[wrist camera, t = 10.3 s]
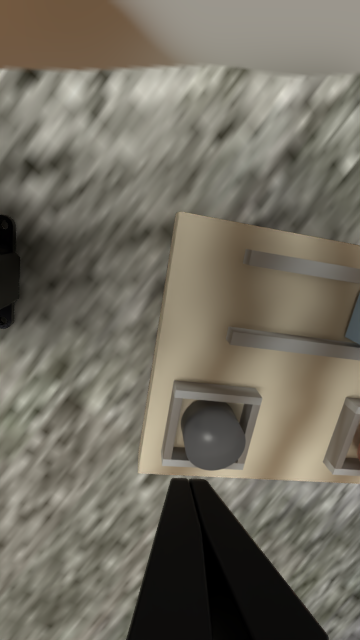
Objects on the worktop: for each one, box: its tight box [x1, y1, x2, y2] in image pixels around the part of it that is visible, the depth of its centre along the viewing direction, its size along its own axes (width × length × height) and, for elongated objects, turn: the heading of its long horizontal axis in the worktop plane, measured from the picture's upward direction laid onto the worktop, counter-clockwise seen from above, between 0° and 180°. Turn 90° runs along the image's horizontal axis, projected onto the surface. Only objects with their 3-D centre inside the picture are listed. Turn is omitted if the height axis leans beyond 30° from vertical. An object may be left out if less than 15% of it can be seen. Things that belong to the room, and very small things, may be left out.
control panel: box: [138, 212, 360, 484], centre depth 20 cm, size 20×17×3 cm
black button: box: [181, 400, 246, 471], centre depth 18 cm, size 4×4×2 cm
